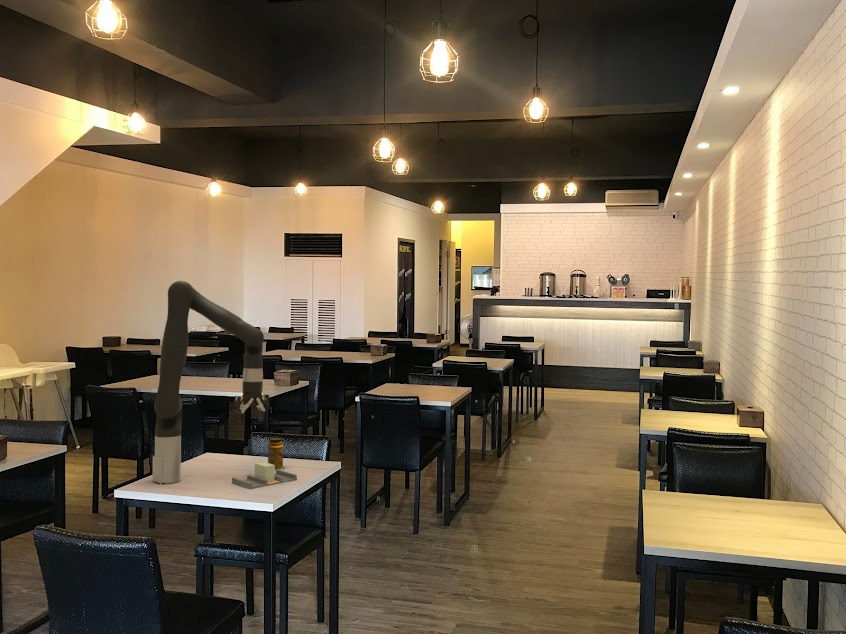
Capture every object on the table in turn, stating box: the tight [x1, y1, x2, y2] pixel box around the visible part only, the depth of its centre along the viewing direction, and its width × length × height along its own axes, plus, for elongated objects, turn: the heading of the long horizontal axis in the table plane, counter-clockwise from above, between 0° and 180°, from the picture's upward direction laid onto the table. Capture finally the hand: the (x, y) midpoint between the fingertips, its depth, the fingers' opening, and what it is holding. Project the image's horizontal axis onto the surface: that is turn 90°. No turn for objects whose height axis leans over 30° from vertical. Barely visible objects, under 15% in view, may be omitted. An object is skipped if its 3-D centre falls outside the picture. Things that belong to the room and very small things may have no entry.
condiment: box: [267, 437, 284, 471], centre depth 313 cm, size 7×8×12 cm
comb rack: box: [231, 469, 297, 490], centre depth 290 cm, size 21×12×2 cm, turn 136°
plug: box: [254, 461, 276, 482], centre depth 290 cm, size 4×7×6 cm, turn 47°
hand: (251, 422), depth 295 cm, fingers open, 8 cm apart
